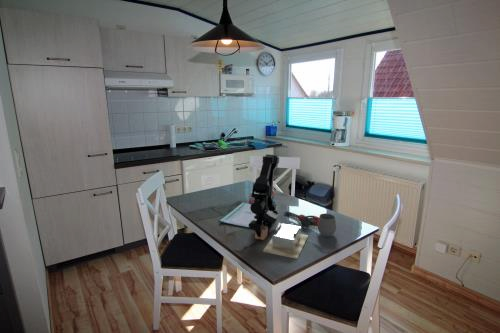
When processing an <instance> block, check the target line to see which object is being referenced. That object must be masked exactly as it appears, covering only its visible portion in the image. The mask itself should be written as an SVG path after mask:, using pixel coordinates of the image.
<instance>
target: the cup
mask: <svg viewBox="0 0 500 333" xmlns="http://www.w3.org/2000/svg"><path fill="white" fill-rule="evenodd" d="M318 217H319V221H318V225H317V227H316V229H317V231H318V232H319V234H320V236H323V237H326V238H328V237H332V236H333V235H334V234H335V232H336V230H337V223H336V222H337V221H336V216H335V215H333V214H332V213H321V214H319V216H318Z"/></svg>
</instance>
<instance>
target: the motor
mask: <svg viewBox="0 0 500 333" xmlns="http://www.w3.org/2000/svg"><path fill="white" fill-rule="evenodd" d="M301 234H302V226H299V225H298V224H296V223H295V222H288V224H287V223H282V222H278V224H277V226H276V227H275V228H274V230H273V234H272V237H271V239H272V247H274V248H278V249H283V250H288V251H294V249H295V247H296V245H297V243H298V241H299V240H300V237H301Z"/></svg>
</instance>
